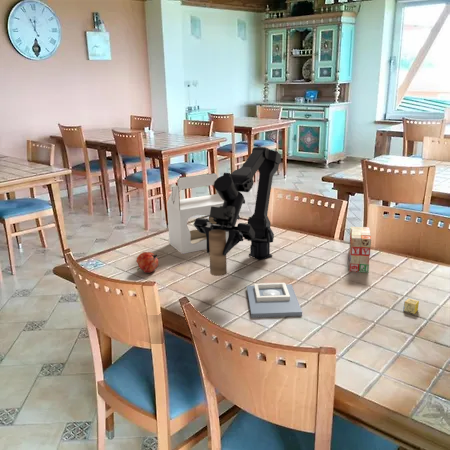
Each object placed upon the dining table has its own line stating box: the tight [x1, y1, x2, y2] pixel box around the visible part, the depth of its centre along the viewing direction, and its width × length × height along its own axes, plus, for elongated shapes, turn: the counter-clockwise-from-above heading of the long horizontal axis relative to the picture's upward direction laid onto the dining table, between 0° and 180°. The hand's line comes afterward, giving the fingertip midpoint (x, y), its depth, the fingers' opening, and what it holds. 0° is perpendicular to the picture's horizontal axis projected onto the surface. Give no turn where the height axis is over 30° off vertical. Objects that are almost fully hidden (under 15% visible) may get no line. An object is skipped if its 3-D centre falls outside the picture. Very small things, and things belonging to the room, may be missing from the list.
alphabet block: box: [403, 298, 420, 315], centre depth 128 cm, size 3×3×3 cm
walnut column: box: [209, 229, 228, 277], centre depth 138 cm, size 5×5×13 cm
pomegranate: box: [136, 251, 160, 274], centre depth 158 cm, size 7×7×10 cm
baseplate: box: [246, 282, 303, 318], centre depth 135 cm, size 18×14×2 cm
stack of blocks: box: [348, 226, 372, 273], centre depth 162 cm, size 21×6×12 cm, turn 166°
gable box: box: [166, 172, 229, 255], centre depth 180 cm, size 22×13×28 cm, turn 118°
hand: (215, 253), depth 137 cm, fingers closed on walnut column, 5 cm apart
